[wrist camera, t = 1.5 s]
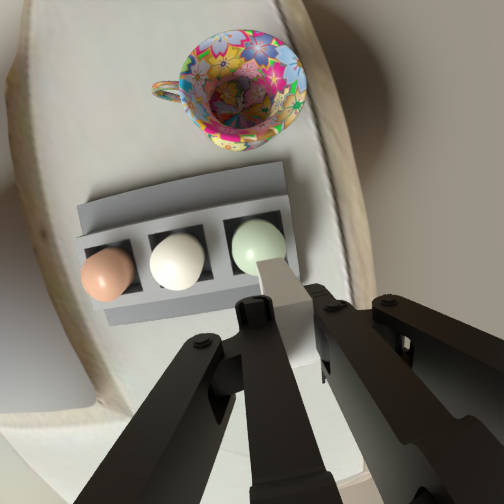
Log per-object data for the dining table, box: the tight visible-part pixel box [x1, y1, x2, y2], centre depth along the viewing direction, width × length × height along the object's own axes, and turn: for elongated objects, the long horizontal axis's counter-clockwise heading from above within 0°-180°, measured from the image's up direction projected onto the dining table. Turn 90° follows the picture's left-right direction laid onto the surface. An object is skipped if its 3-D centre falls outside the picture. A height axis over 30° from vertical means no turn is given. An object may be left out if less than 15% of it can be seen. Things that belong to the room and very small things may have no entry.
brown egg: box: [81, 246, 136, 302], centre depth 26 cm, size 4×4×4 cm
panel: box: [74, 161, 300, 326], centre depth 30 cm, size 14×22×5 cm, turn 100°
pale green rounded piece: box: [232, 218, 286, 276], centre depth 26 cm, size 4×4×4 cm
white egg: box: [150, 232, 205, 291], centre depth 26 cm, size 4×4×4 cm
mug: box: [152, 30, 307, 151], centre depth 24 cm, size 12×9×11 cm
